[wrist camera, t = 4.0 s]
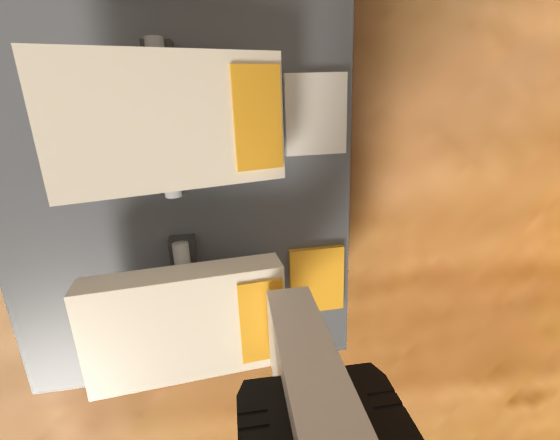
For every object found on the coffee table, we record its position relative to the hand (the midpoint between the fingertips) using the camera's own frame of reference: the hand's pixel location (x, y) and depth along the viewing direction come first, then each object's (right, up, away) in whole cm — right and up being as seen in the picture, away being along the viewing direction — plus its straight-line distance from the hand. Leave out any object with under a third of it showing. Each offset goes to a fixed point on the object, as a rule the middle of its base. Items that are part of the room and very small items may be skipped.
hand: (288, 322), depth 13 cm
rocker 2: (-4, 0, +1) cm, 4 cm away
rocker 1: (-4, +7, -1) cm, 8 cm away
